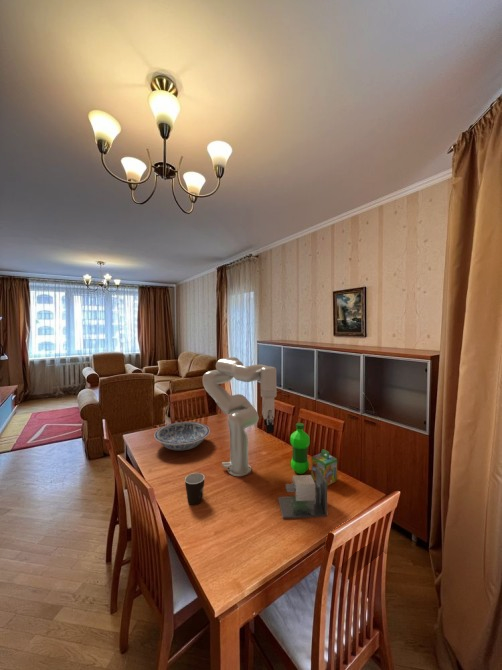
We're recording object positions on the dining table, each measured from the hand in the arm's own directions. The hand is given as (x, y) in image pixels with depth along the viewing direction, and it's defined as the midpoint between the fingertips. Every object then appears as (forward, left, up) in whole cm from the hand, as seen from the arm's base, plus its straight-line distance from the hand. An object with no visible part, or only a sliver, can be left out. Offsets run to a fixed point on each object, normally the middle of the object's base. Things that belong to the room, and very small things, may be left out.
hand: (268, 428), depth 127 cm
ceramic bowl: (-50, +47, -29) cm, 74 cm away
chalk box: (+28, +4, -29) cm, 40 cm away
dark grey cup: (-33, -6, -28) cm, 44 cm away
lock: (+13, -15, -23) cm, 31 cm away
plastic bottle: (+18, +13, -28) cm, 36 cm away
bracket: (+12, -15, -28) cm, 34 cm away
